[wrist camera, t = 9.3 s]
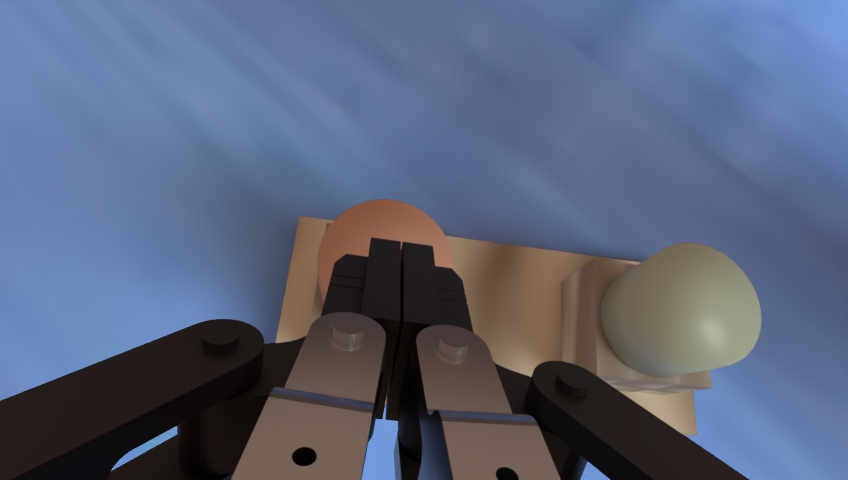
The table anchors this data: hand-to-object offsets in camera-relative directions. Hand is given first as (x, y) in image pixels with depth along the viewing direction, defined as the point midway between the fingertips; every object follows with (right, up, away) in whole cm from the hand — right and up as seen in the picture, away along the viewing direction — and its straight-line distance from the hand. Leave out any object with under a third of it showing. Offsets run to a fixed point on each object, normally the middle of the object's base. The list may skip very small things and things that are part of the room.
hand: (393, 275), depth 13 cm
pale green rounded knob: (+12, -4, +17) cm, 21 cm away
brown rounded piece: (-2, -2, +15) cm, 16 cm away
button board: (+5, -4, +19) cm, 20 cm away
